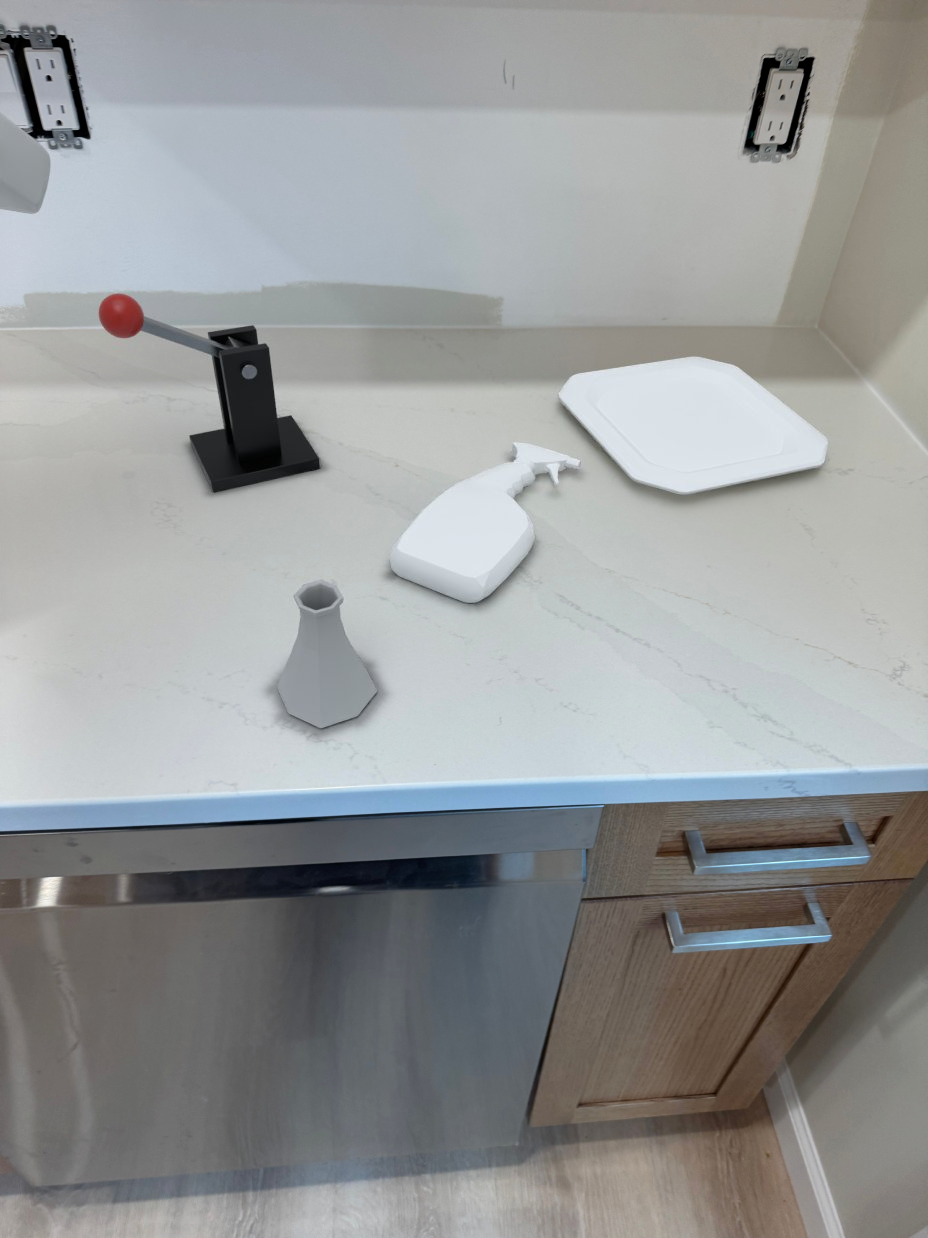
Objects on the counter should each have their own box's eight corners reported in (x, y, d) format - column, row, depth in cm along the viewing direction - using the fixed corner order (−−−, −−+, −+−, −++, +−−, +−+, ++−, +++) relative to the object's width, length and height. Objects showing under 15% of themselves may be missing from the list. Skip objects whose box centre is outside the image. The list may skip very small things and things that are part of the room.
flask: (335, 643, 67) (327, 547, 60) (394, 693, 63) (393, 599, 56) (260, 688, 63) (243, 592, 56) (318, 745, 59) (307, 650, 52)
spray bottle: (377, 571, 73) (498, 447, 89) (486, 615, 70) (592, 478, 86) (377, 545, 71) (501, 423, 87) (489, 589, 68) (596, 454, 84)
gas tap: (213, 492, 80) (189, 371, 71) (191, 445, 86) (166, 328, 77) (320, 468, 84) (310, 351, 75) (292, 425, 90) (280, 310, 81)
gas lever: (96, 336, 69) (110, 296, 67) (89, 318, 71) (102, 279, 69) (252, 387, 78) (267, 353, 76) (241, 370, 80) (255, 337, 79)
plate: (648, 515, 81) (652, 497, 80) (541, 394, 98) (543, 377, 96) (845, 473, 89) (853, 455, 87) (715, 367, 105) (719, 350, 103)
